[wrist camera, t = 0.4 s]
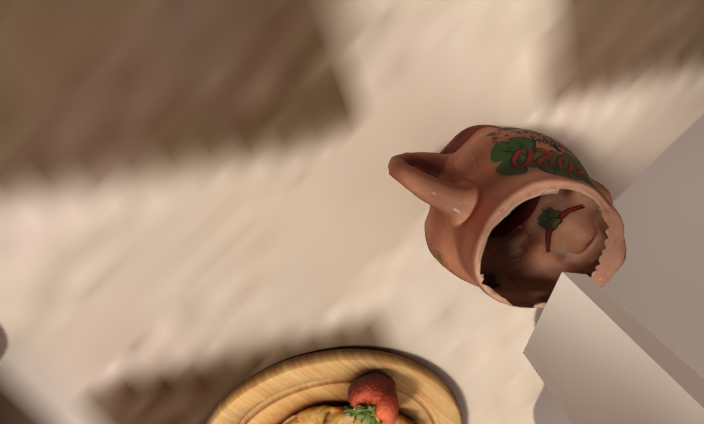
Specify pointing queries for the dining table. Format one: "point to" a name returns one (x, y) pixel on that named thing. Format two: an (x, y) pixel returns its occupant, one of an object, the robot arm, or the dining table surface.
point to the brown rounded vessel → (513, 213)
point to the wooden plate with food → (340, 392)
